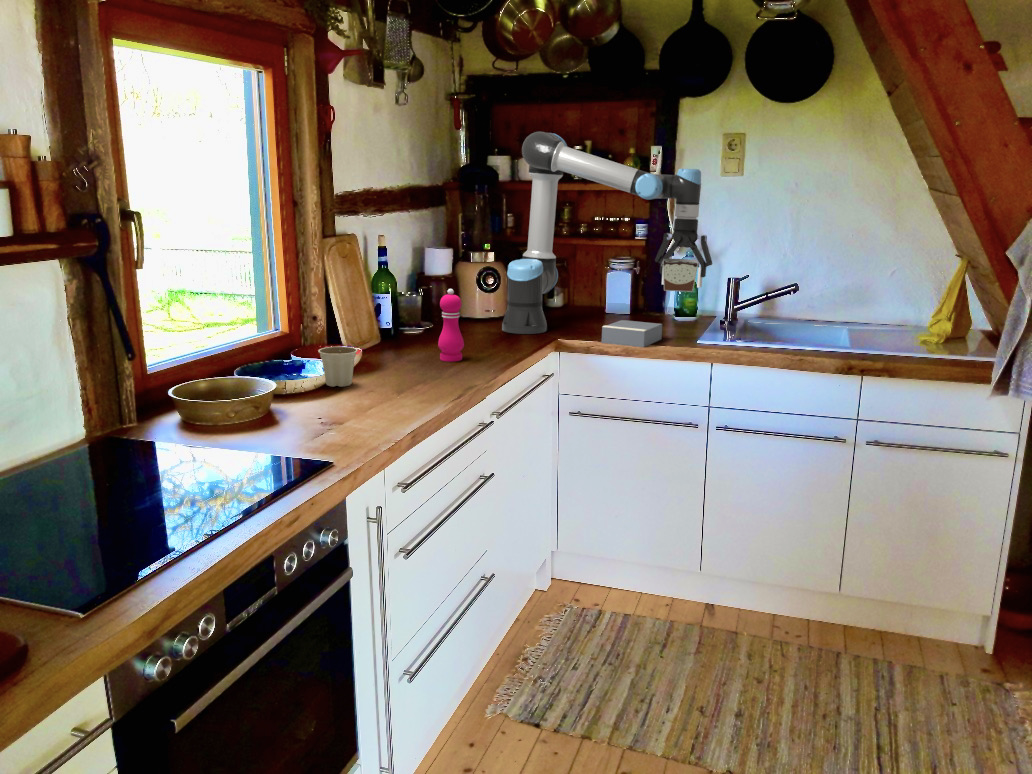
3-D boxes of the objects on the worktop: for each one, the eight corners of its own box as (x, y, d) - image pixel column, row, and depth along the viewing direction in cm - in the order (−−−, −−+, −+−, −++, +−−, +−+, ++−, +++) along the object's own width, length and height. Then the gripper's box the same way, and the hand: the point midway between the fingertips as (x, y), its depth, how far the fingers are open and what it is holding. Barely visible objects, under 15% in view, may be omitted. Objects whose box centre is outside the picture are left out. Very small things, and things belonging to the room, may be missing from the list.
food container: (694, 289, 277) (697, 259, 274) (697, 292, 271) (700, 261, 268) (657, 288, 278) (660, 257, 275) (659, 290, 272) (661, 259, 269)
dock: (601, 342, 261) (602, 326, 260) (621, 334, 275) (621, 319, 273) (643, 347, 254) (644, 330, 253) (661, 339, 268) (662, 323, 267)
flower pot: (365, 381, 208) (364, 347, 206) (346, 390, 199) (345, 355, 197) (332, 378, 211) (331, 345, 208) (312, 386, 202) (310, 352, 200)
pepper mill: (449, 355, 239) (448, 286, 234) (469, 358, 235) (469, 288, 230) (433, 359, 234) (432, 288, 229) (452, 363, 230) (452, 291, 225)
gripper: (647, 216, 270) (643, 283, 276) (719, 220, 259) (713, 289, 265) (655, 216, 277) (651, 281, 282) (726, 219, 266) (720, 287, 271)
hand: (681, 285), depth 273 cm, fingers closed on food container, 11 cm apart
